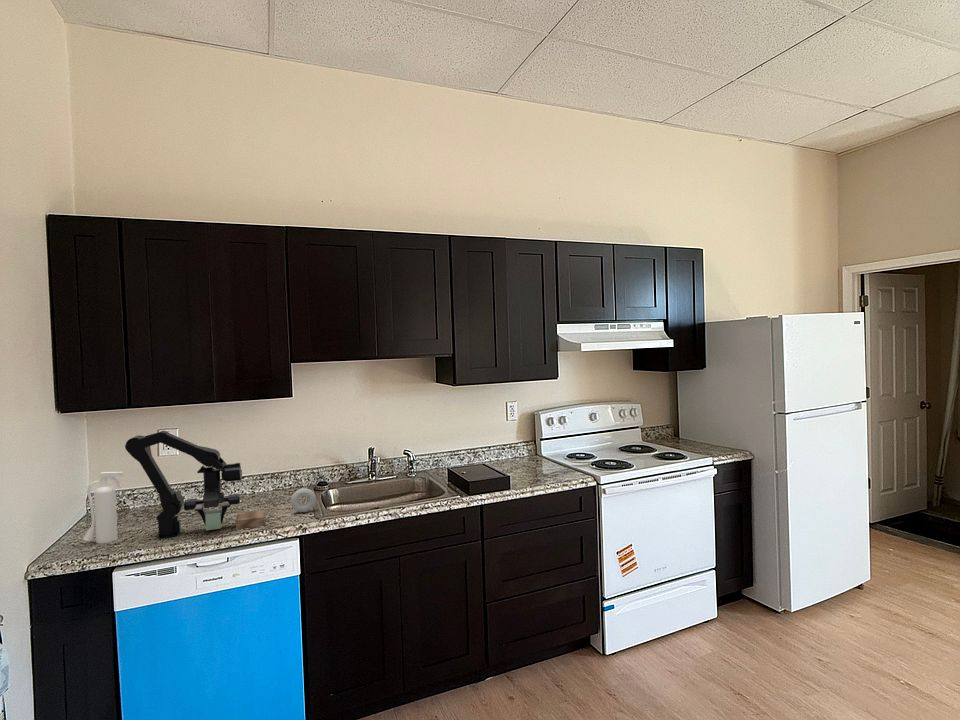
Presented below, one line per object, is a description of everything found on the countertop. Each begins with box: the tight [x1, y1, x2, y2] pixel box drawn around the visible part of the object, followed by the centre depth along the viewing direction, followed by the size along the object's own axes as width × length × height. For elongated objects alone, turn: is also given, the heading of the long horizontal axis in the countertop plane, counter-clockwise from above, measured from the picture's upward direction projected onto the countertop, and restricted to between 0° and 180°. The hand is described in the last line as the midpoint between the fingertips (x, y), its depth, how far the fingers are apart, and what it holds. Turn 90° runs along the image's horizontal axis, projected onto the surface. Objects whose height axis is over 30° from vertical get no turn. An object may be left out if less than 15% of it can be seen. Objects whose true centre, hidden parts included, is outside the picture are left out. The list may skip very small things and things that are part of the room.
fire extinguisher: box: [82, 471, 124, 544], centre depth 195 cm, size 7×12×25 cm, turn 116°
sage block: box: [205, 508, 223, 531], centre depth 204 cm, size 5×5×6 cm
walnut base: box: [235, 509, 266, 531], centre depth 209 cm, size 10×10×4 cm
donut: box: [290, 487, 317, 513], centre depth 223 cm, size 10×4×10 cm, turn 112°
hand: (213, 524), depth 204 cm, fingers closed on sage block, 5 cm apart
